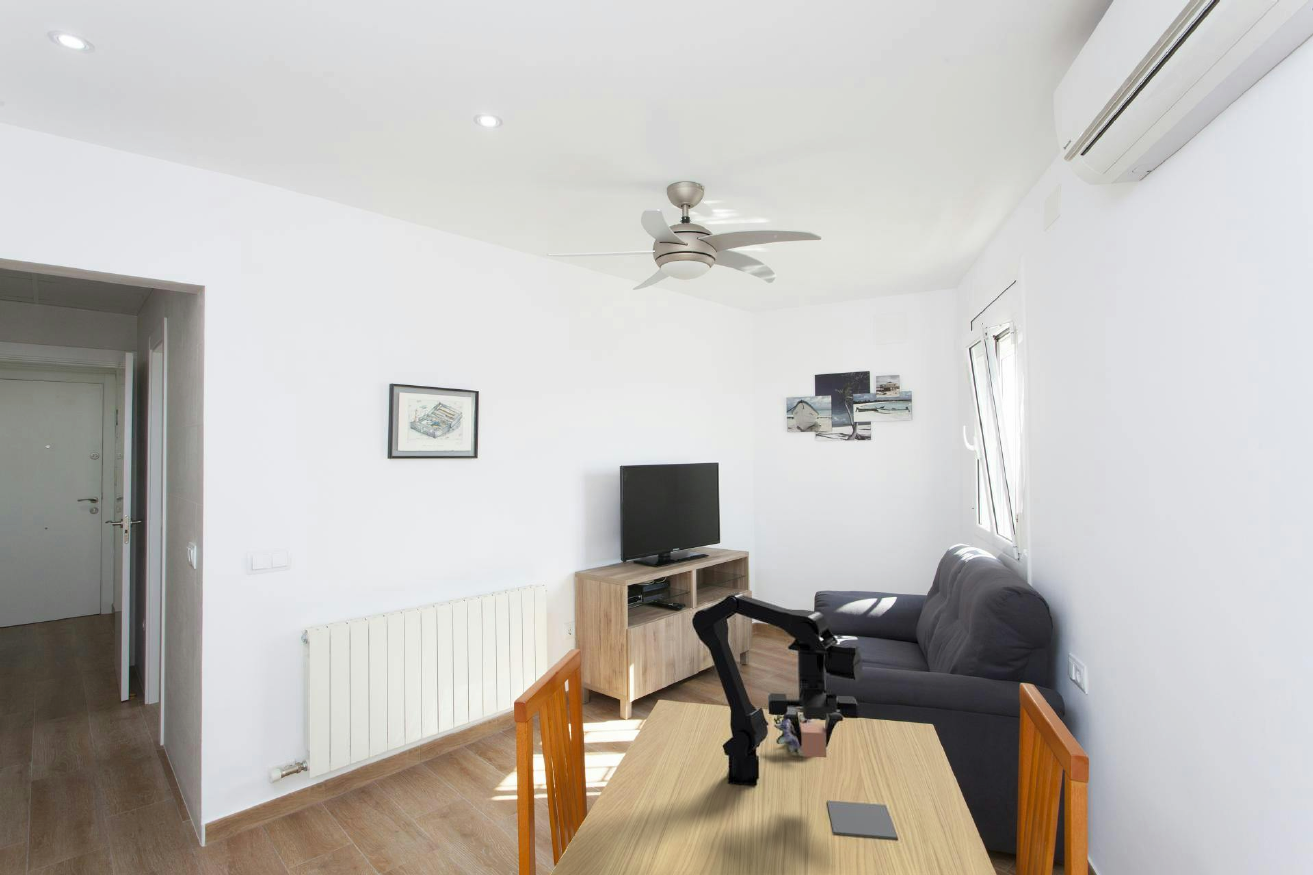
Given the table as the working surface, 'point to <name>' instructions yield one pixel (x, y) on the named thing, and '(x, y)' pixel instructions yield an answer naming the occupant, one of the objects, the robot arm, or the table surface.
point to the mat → (861, 819)
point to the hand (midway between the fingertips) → (813, 745)
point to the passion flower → (790, 733)
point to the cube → (813, 740)
